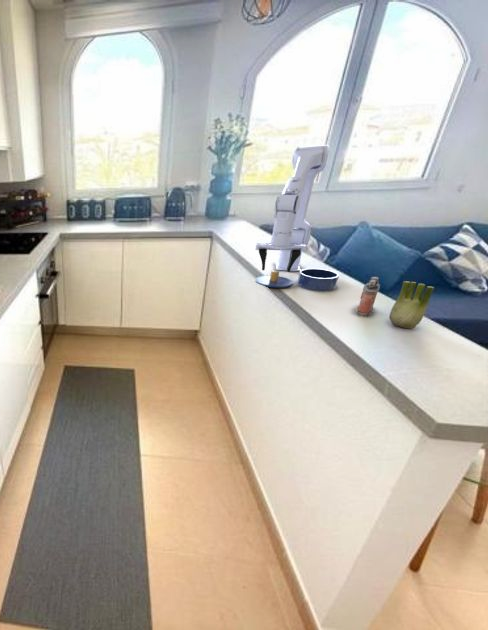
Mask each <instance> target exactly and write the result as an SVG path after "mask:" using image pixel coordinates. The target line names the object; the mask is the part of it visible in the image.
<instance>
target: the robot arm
mask: <svg viewBox="0 0 488 630" xmlns="http://www.w3.org/2000/svg"><path fill="white" fill-rule="evenodd" d="M329 154H330V145H329V144H323V145H309V146H308V145H307V146H296V148H294V151H293V153H292V160H291V164H292V169H293V171H294V172H293V175H292V176H291V177H290V178H289V179H287V181H286V183H285V185H284V188H283V190H282V192H281V194H280V195H278V196H277V197H276V199H275V202H274V215H273V217H274V223H273V228H272V235H271V240H270V242H264V243H263V242H259V243H255V251H258V254H259V257H260V261H261V271H265V269H266V261H267V255H268V251H279V254H278V255H279V256H278V261H277V262H275V268H276V271H286V272H287V273H290V272H300V271H301V270H302V269H301V267H300V263H301V258H302V253H305V251H306V246H307V245H308V244H309V242H310V238H311V234H312V233H311V232H312V225H311V224H310V223H309V222H308V221H307V220H306V216H307V211H308V207H309V204H310V200H311V197H312V191H313V187H314V183H315V179H316V178H317V175H318V174H319V173H322V172H324V171H325V168H326V167H327V166H326V165H327V161H328V158H329Z"/></svg>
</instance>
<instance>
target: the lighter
mask: <svg viewBox="0 0 488 630" xmlns="http://www.w3.org/2000/svg"><path fill="white" fill-rule="evenodd" d="M379 280H380V279H379V276H378V277H377V276H372V277H370V280H368V281H369V282H367V283H365V284H364V285H363V289H362V292H361V294H360V300H359V305H358V306H357V308H356V311H355V312H356V315H357V316H360V317H369V316H370V315H372V313H373V311H374V304H375V301H376V298H377V296H378V293H379V292H380V289H381V284H379Z"/></svg>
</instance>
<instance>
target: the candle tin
mask: <svg viewBox="0 0 488 630" xmlns="http://www.w3.org/2000/svg"><path fill="white" fill-rule="evenodd" d="M339 277H340V275H339V273H338V272H336V271H333V270H329V269H324V268H304V269H301V271H299V273H298V278H297V286H298V287H301V288H302V289H306V290H309V291H316V292H329V291H334V290H335V289H336V287H337V284H338V280H339Z"/></svg>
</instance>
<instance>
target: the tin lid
mask: <svg viewBox="0 0 488 630" xmlns="http://www.w3.org/2000/svg"><path fill="white" fill-rule="evenodd" d="M254 280H255V283H256V284H258V285H260V286H263V287H266V288H273V289H281V288H289V287H292V285H293V280H291V279H290V278H287V277H284V276H280V270H277V269H276V270H275V269H274V270H271V272H270V275H260V276H257V277H255V279H254Z"/></svg>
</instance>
